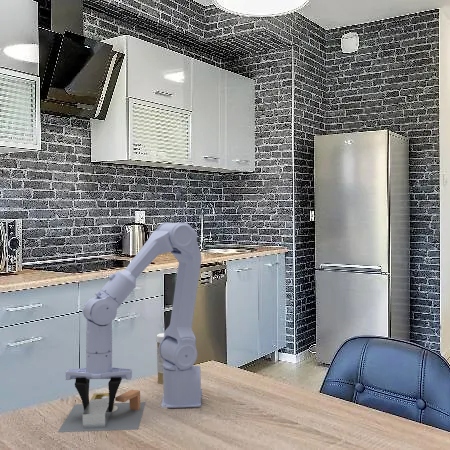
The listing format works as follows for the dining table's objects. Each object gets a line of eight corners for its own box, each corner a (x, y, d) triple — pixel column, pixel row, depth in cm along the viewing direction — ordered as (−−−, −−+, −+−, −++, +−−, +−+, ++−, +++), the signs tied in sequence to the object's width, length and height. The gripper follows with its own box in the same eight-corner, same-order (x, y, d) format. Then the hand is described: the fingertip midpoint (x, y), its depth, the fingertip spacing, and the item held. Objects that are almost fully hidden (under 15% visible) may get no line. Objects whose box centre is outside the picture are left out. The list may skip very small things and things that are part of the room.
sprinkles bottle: (168, 379, 155) (167, 331, 154) (177, 383, 151) (176, 334, 151) (154, 383, 152) (153, 334, 151) (163, 386, 148) (162, 336, 148)
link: (94, 405, 133) (94, 393, 132) (114, 405, 133) (114, 392, 133) (82, 428, 119) (82, 414, 119) (105, 427, 119) (105, 413, 119)
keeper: (132, 409, 132) (131, 389, 132) (140, 410, 131) (140, 390, 130) (115, 417, 126) (115, 397, 126) (124, 419, 125) (123, 398, 125)
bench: (145, 403, 135) (145, 390, 135) (138, 431, 118) (138, 416, 118) (75, 406, 134) (74, 392, 134) (57, 433, 117) (57, 418, 117)
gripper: (62, 355, 121) (62, 417, 121) (129, 354, 121) (129, 416, 122) (69, 347, 128) (69, 406, 128) (133, 347, 129) (132, 405, 129)
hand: (98, 410), depth 125 cm, fingers closed on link, 5 cm apart
